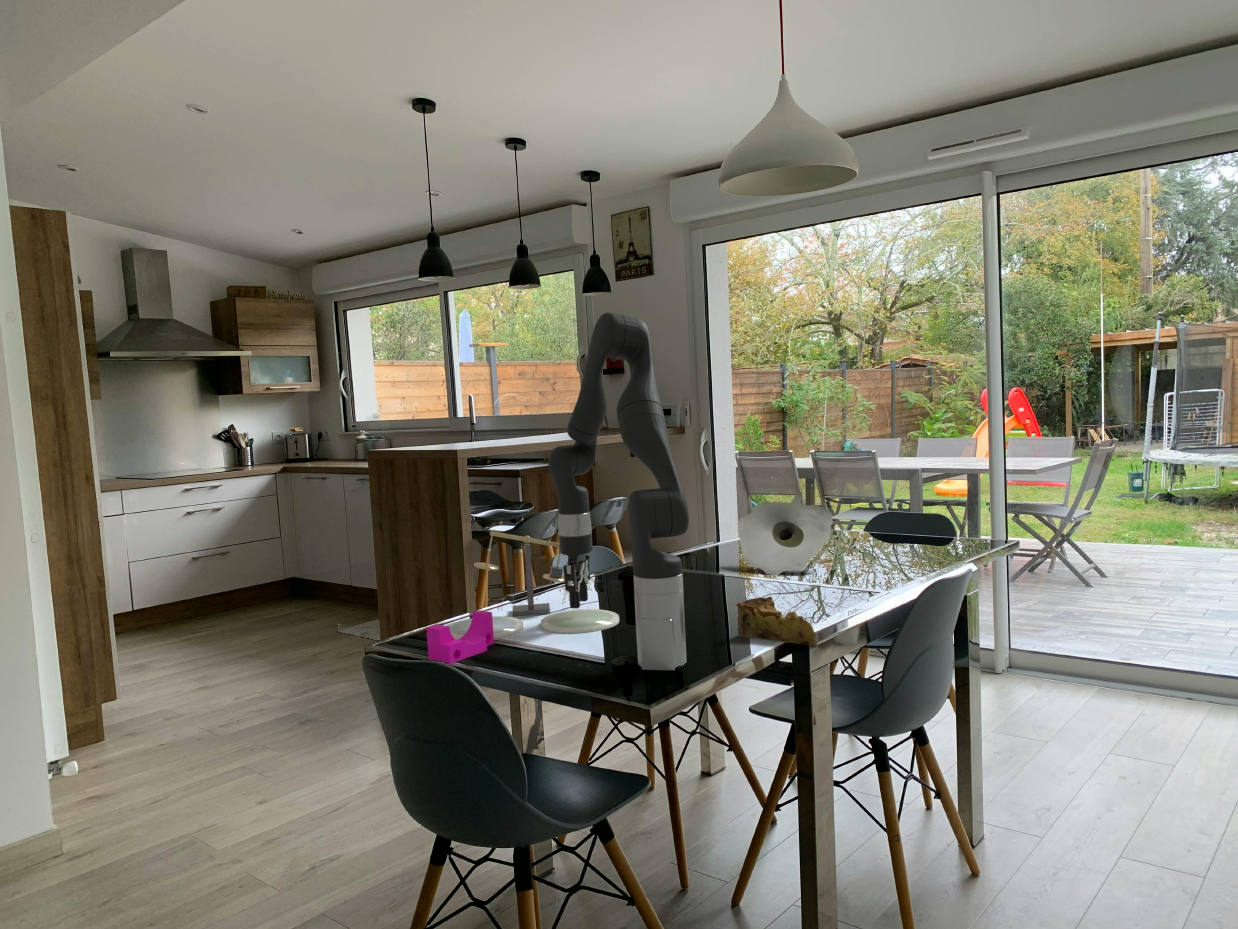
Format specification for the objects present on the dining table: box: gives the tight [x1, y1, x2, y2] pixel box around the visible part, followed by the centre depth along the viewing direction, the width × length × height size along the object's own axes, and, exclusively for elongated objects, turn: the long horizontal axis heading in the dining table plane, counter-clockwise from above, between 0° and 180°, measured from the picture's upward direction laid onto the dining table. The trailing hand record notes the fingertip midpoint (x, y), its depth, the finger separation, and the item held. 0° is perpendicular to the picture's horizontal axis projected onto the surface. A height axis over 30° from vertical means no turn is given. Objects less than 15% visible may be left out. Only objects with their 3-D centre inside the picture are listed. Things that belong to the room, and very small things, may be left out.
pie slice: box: [736, 596, 818, 647], centre depth 179 cm, size 18×10×8 cm, turn 36°
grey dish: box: [447, 615, 524, 641], centre depth 199 cm, size 18×18×1 cm
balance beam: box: [473, 530, 565, 583], centre depth 214 cm, size 6×23×9 cm, turn 96°
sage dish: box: [540, 608, 620, 634], centre depth 202 cm, size 18×18×1 cm
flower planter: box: [737, 491, 834, 576], centre depth 258 cm, size 16×30×28 cm
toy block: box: [426, 610, 495, 664], centre depth 182 cm, size 15×6×8 cm, turn 144°
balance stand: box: [512, 543, 551, 617], centre depth 215 cm, size 6×9×17 cm, turn 96°
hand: (579, 604), depth 201 cm, fingers open, 6 cm apart
